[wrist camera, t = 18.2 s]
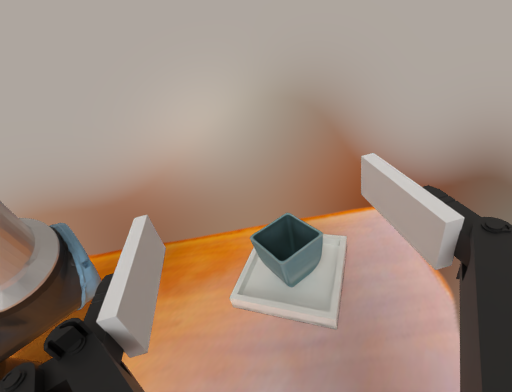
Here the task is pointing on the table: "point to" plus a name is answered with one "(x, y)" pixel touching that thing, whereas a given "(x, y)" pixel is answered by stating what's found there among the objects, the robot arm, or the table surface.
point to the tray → (296, 288)
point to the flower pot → (289, 248)
